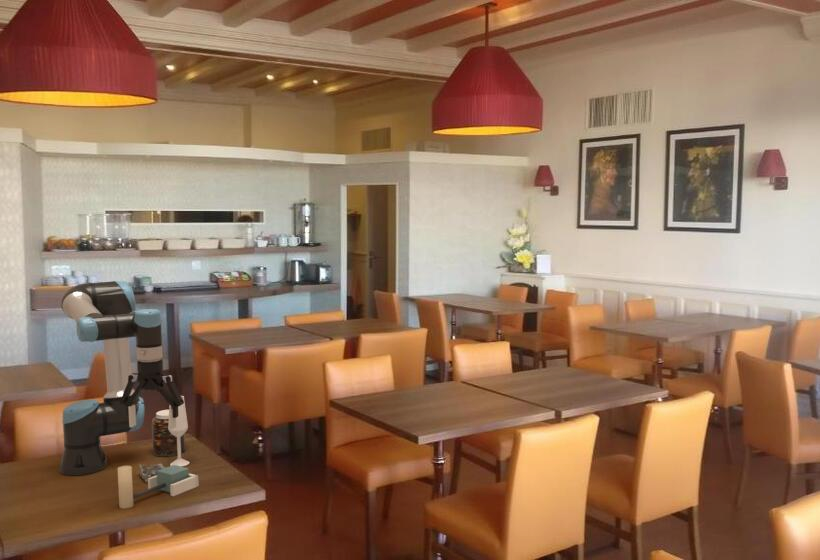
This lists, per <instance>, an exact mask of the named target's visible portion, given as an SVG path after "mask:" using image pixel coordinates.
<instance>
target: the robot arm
mask: <svg viewBox="0 0 820 560" xmlns="http://www.w3.org/2000/svg"><path fill="white" fill-rule="evenodd" d="M136 303H137V302H136V298H135V294H134V290H133V288H132V286H131V284H130V283H129V282H127V281H123V280H122V281H119V280H114V281H113V280H112V281H101V282H100V281H99V282H86V283H80V284H77V285H75V286H72V287H71V288H70V289H68V290H67V291H66V292H65V293H64V295H63V296H62V298H61V302H60V306H61V309H62V311H63V313H64V314H65V316H67V317H68V318H70V319H73V320H74V321H75V323H76V334H77V335H76V336H77V339H78V340H79V341H80V342H82V343H83V342H84V343H85V342H89V343H92V342H98V341H103V343H102V345H103V355H104V364H105V365H104V367H105V380H106V390H107V392H105V394H104V395H103V396H102V398H103V401H102V402H99V401H98V399H95V398H94V399H93V398H91V399H83V400H79V401H75V402H73V403H70V404H68V405H67V406H65V407H64V408H63V410H62V420H61V422H62V429H63V430H62V431H63V432H62V433H63V448H64V449H63V452H62V457H61V460H60V464H59V473H60V474H62V475H65V476H66V475H67V476H85V475H88V474H89V475H90V474H93V473H97V472H100V471H102V470H104V469H105V468H107V466H108V462H107V459H108V458H107V457H106V455H105V452H104V450H103V447H102V445H101V437H105V436H111V435H118V434H123V433H130V432H133V431H137V430H140V429H141V427H142V426H143V423H144V419H145V402H144V398H142V397H140V395H141V394H142V392H143V390H145V391H149V390H150V391H155V390H156V391H157V392H159V393H160V395H161V396H162V397H163V398H164V400H165V401H166V402H167V403H168V405H170V406H171V408H169V407H168V408H169V409H168V410H169V416H170V429H173V428H175V427H176V418H177V417H178V406H181V405H182V404H184V401H185V400H184V401H183V399H182V397H181V396H182V395H181V393H180V391H179V389H178V387H177V385H176V383H175V381H174V380H175V378H174V375H172V374H169V375H164V374H163V373H164V364H163V363H164V361H163V359H162V358H163V356H164V355H163V341H162V340H163V339H162V338H163V337H162V322H163V321H162V317H161V311H160V310H159V309H158V308H157V309H156V308H141V309H139V310H136V307H137V306H136ZM129 338H135V343H136V345H135V346H136V359H137V362H136V365H137V370H136V371H137V374H136V373H133V372H132V363H131V352H130V341H129ZM137 381H138V383H139V384H138V386H136V389H134V386H135V384H136V382H137ZM163 382H164V383H163ZM165 383H166V384H165ZM166 386H167V387H166ZM167 388H168V389H167Z"/></svg>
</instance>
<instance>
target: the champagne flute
mask: <svg viewBox="0 0 820 560" xmlns="http://www.w3.org/2000/svg"><path fill="white" fill-rule="evenodd" d="M181 397H182V399H183V401H184V404H182V405H181V406H178V417H177V418H176V427H175V428H173V429H170V416H169V423H168V430H169V431H170V433H171V434H173V435H174V436H175V437H177V452H178V455H177V458H176V459H175V460H173V461H172V462H170V463H169V465H170V466H172V465H177V466H181V467H185V466H187V465H189V464H190V461H188V460H187V459H184V458H182V453H181V442H180V437H181V436H182V435H183V434H186V432H187V431H188V429H189V425H188V423H189V422H188V418H187V417H188V416H187V411H186V410H187V409H186V403H185V396H184V395H181ZM168 405H169V407H168V408H171V406H170V404H168Z"/></svg>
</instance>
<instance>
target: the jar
mask: <svg viewBox="0 0 820 560" xmlns="http://www.w3.org/2000/svg"><path fill="white" fill-rule="evenodd" d="M168 423H169V409H163V410H159V411H157V412H156V413H155V416H154V418H152V420H151V439H152V441H151V442H152V454H153V456H156V457H161V458H162V457H163V458H164V457H167V458H168V457H173V456H178V452H177V437H175V436H174V435H173V434H171V433H170V431H169V430H168ZM185 434H186V433H184V434H183V435H182V436H181V437H180V442H181V454H183V453H184V452H185V451H186V437H185Z"/></svg>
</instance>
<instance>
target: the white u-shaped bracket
mask: <svg viewBox="0 0 820 560" xmlns="http://www.w3.org/2000/svg"><path fill="white" fill-rule="evenodd" d="M155 486H158V485H157V475H156V476H153V477H151V478H148V482H147V489H150V488H153V487H155ZM199 486H200V485H199V475H197V474H193V473H190V472H189V478H187V479H184V480H181V481H179V482H176V483H174V484H171V485H170V492H169V493H170V496H171V497H175V496H177V495H180V494H182V493H185V492H187V491H190V490H193V489H195V488H197V487H199Z"/></svg>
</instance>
